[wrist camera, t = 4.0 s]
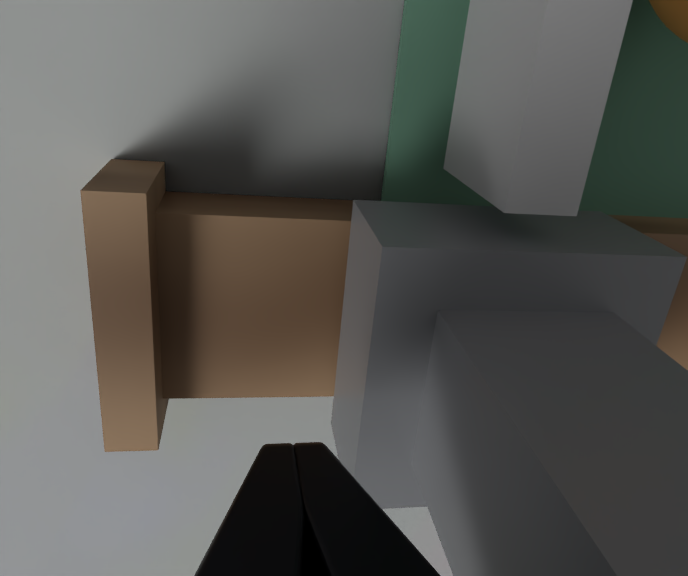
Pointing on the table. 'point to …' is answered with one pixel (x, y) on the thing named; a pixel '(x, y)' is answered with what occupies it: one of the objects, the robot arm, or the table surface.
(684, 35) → the ball
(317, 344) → the rail
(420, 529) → the table surface
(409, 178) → the pitch mat
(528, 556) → the kicker
